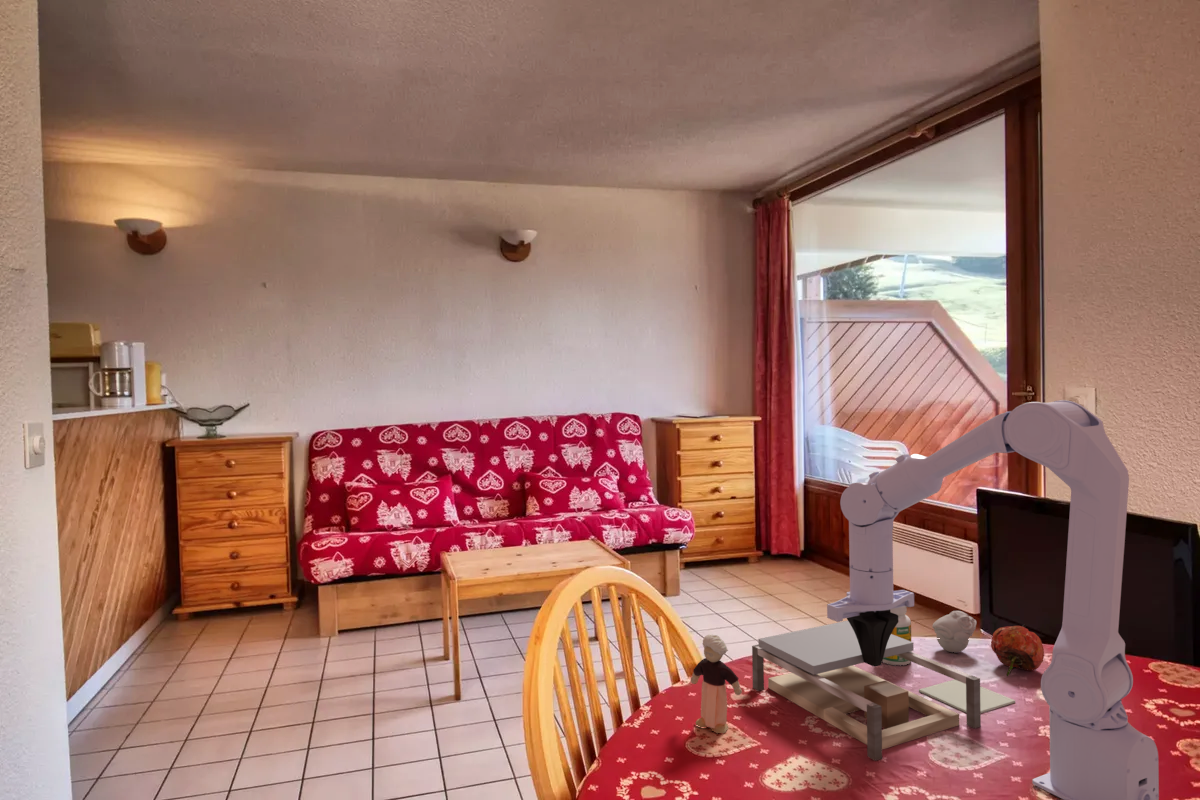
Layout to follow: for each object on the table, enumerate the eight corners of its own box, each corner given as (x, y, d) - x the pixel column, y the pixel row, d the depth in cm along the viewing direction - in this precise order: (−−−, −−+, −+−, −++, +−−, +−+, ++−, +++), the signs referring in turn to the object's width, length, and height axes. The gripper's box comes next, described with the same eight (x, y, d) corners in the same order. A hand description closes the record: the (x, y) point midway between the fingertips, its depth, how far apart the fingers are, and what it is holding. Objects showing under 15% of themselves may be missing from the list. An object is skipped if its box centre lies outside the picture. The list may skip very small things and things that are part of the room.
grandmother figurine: (683, 728, 97) (682, 635, 96) (693, 716, 100) (692, 627, 100) (739, 740, 93) (737, 644, 93) (747, 727, 96) (745, 634, 96)
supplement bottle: (890, 652, 123) (889, 596, 122) (918, 661, 118) (917, 604, 118) (870, 659, 120) (869, 602, 120) (899, 669, 115) (898, 610, 115)
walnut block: (908, 723, 97) (908, 691, 97) (887, 730, 95) (886, 697, 95) (885, 712, 100) (885, 680, 100) (864, 718, 99) (864, 686, 99)
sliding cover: (913, 650, 105) (913, 642, 105) (813, 674, 97) (813, 666, 97) (852, 626, 116) (852, 619, 116) (758, 646, 108) (758, 638, 108)
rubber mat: (1015, 702, 102) (1015, 700, 102) (972, 715, 98) (972, 713, 98) (960, 679, 110) (960, 678, 110) (918, 691, 107) (918, 689, 107)
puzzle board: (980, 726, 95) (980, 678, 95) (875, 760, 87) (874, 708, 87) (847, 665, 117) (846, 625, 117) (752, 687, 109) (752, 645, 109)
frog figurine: (982, 659, 119) (982, 617, 119) (938, 657, 120) (937, 616, 120) (970, 646, 125) (969, 606, 125) (927, 644, 126) (927, 605, 126)
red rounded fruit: (1039, 696, 109) (1062, 645, 114) (1018, 663, 108) (1042, 613, 112) (993, 684, 116) (1016, 637, 120) (972, 653, 114) (996, 606, 118)
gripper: (886, 555, 106) (887, 645, 106) (811, 567, 100) (812, 663, 100) (926, 565, 100) (927, 661, 100) (848, 579, 94) (849, 681, 94)
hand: (872, 663), depth 100 cm, fingers closed, pressing on sliding cover
